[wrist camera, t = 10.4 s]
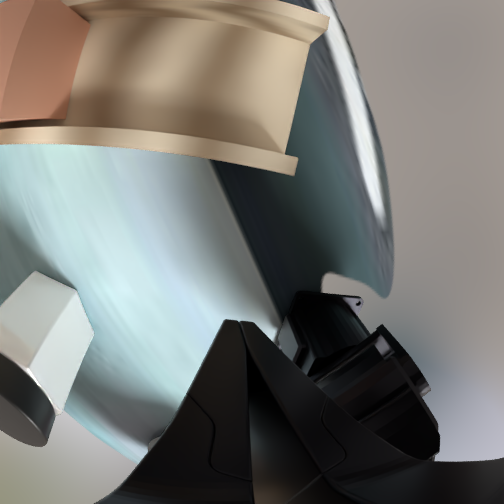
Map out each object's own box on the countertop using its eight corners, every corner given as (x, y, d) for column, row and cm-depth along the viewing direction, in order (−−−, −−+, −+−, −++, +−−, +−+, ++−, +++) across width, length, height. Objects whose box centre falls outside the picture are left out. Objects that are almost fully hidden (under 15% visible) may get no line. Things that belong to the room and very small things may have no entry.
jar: (45, 252, 18) (-42, 345, 7) (110, 322, 21) (67, 441, 10) (9, 303, 19) (-51, 384, 8) (64, 358, 22) (26, 451, 11)
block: (90, 24, 11) (42, -13, 4) (65, 119, 13) (-1, 118, 7) (20, 38, 9) (-35, 21, 3) (-1, 123, 12) (-63, 130, 6)
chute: (307, 36, 14) (329, 17, 11) (277, 167, 18) (293, 176, 14) (22, 28, 10) (-4, 18, 6) (-4, 141, 13) (-35, 147, 10)
